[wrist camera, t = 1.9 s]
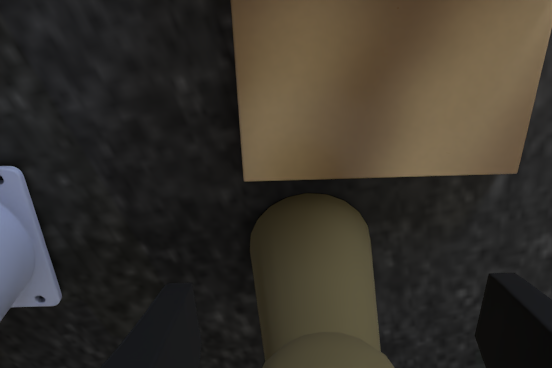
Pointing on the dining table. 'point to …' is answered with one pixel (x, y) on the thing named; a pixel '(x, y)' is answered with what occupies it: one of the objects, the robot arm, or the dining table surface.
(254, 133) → the wooden stepped pedestal
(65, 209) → the dining table surface
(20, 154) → the dining table surface
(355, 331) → the olive peg figure
